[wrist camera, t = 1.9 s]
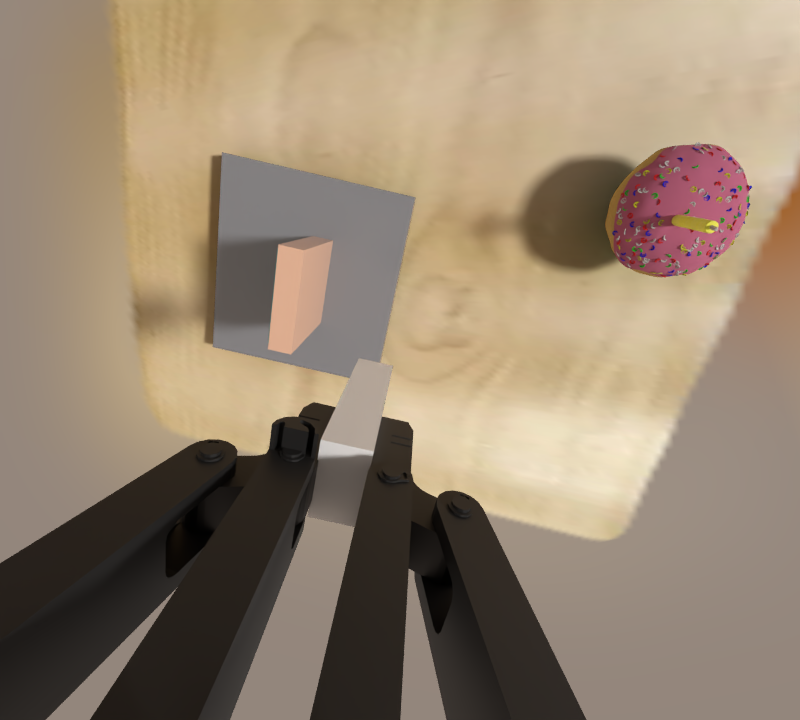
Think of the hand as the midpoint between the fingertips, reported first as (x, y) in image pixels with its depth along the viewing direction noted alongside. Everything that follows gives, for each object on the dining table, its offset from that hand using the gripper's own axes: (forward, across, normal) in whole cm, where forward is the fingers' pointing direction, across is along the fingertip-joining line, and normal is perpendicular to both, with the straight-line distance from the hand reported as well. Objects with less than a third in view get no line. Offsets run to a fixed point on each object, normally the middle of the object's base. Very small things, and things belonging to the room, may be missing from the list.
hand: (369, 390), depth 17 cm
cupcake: (+19, +17, +11) cm, 28 cm away
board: (+19, -8, 0) cm, 20 cm away
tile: (+17, -7, 0) cm, 19 cm away
